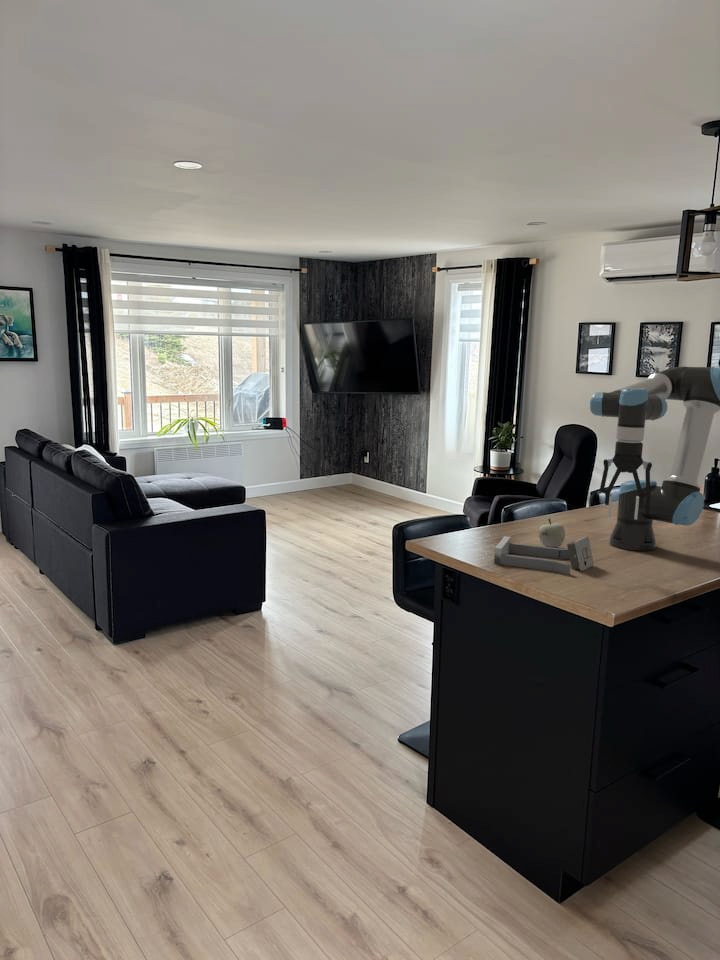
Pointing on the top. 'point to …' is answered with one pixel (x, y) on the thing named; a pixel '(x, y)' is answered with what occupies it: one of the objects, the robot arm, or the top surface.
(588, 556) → the electrical switch
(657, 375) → the robot arm
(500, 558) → the rail channel
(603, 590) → the top surface
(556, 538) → the decorative object
